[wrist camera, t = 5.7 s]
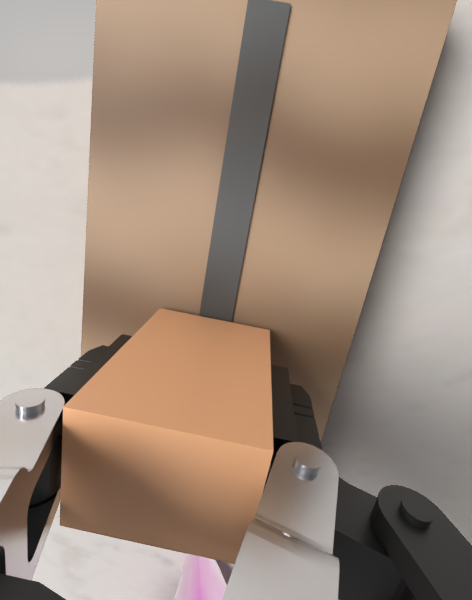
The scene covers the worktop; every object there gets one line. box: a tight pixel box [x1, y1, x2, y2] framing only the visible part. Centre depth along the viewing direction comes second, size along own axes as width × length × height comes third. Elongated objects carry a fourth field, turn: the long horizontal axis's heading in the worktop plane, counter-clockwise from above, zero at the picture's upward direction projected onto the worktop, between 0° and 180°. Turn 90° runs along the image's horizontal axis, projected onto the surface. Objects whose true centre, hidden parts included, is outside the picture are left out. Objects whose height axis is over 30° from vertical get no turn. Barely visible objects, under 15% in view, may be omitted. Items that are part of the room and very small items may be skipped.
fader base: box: [81, 0, 457, 443], centre depth 13 cm, size 22×10×3 cm, turn 170°
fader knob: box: [60, 308, 274, 564], centre depth 9 cm, size 3×4×6 cm
